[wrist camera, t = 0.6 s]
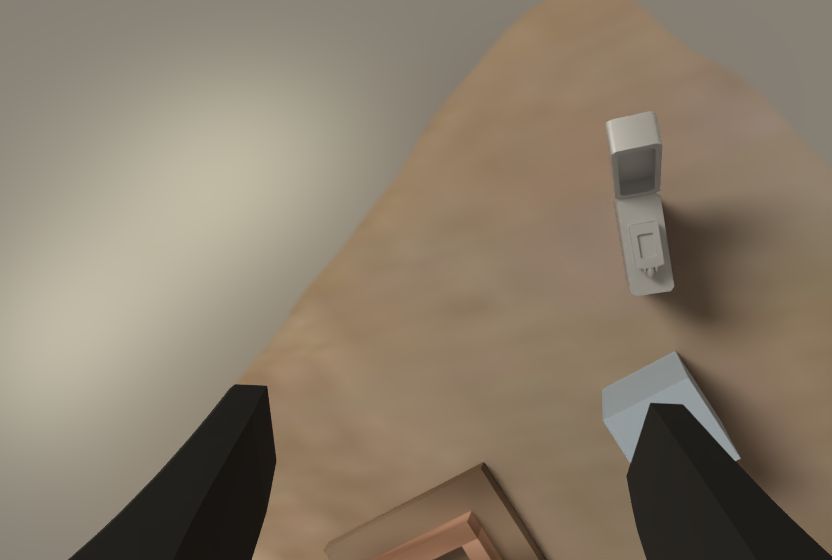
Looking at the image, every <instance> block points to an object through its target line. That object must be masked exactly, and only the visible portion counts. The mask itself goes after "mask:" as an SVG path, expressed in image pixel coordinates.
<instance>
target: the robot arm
mask: <svg viewBox="0 0 832 560" xmlns="http://www.w3.org/2000/svg"><path fill="white" fill-rule="evenodd" d="M275 465H276V454H275V445H274V437H273V429H272V421H271V413H270V405H269V397H268V389H267V386H259V385H237V384H235V385H234V386H232V387H231V388H230V389H229V390H228V391H227V393H226V394H225V395H224V397H223V398H222V399H221V400H220V402H219V403H218V404H217V405H216V407H215V408H214V409H213V410H212V412H211V413H210V414H209V415H208V417H207V418H206V419H205V420H204V421H203V423H202V424H201V425H200V426H199V427H198V429H197V430H196V431H195V432H194V433H193V434H192V436H191V437H190V438H189V439H188V441H186V443H185V444H184V445H183V446H182V447H181V448H180V449H179V451H178V452H177V453H176V454H175V455H174V456H173V457H172V458H171V459H170V461H169V462H168V463H167V464H166V465H165V466H164V467H163V468H162V470H161V471H160V472H159V473H158V474H157V475H156V476H155V477H154V478H153V479H152V480H151V481H150V482H149V483H148V484H147V485H146V487H144V488H143V489H142V491H141V492H140V493H139V494H138V495H137V496H136V497H135V498H134V499H133V500H132V501H131V502H130V503H129V504H128V505H127V506H126V507H125V508H124V509H123V510H122V511H121V512H120V513H119V514H118V515H117V516H116V517H115V518H114V519H113V520H111V521H110V522H109V523H108V524H107V525H106V526H105V527H104V528H103V529H102V530H101V531H100V532H99V533H98V534H97V535H95V536H94V537H93V538H92V539H91V540H90V541H89V542H88V543H86V544H85V545H84V546H83V547H82V548H81V549H80V550H79V551H77V552H76V553H75V554H74V555H73V556H72V557H71V558H69V559H68V560H252V557H253V554H254V550H255V547H256V544H257V541H258V538H259V534H260V531H261V528H262V525H263V522H264V518H265V515H266V512H267V507H268V502H269V497H270V492H271V487H272V481H273V476H274V471H275ZM627 481H628V487H629V492H630V497H631V503H632V508H633V513H634V517H635V522H636V527H637V530H638V534H639V537H640V540H641V543H642V546H643V549H644V552H645V555H646V559H647V560H832V556H831V555H830V554H829V553H828V552H826V551H825V550H824V549H823V548H822V547H821V546H820V545H819V544H818V543H817V542H816V541H815V540H814V539H812V538H811V537H810V536H809V535H808V534H807V533H806V532H805V531H804V530H803V529H802V528H801V527H800V526H799V525H798V524H796V523H795V522H794V521H793V520H792V519H791V518H790V517H789V516H788V515H787V514H786V513H785V512H784V511H783V510H782V509H781V508H780V507H779V506H778V505H777V504H776V503H775V502H774V501H773V500H772V499H771V498H770V497H769V496H768V495H767V494H766V493H765V492H764V491H763V490H762V489H761V488H760V487H759V486H758V485H757V484H756V483H755V481H754V480H753V479H752V478H751V477H750V476H749V475H748V474H747V473H746V472H745V471H744V470H743V469H742V468H741V467H740V466H739V465H738V464H737V462H736V461H735V460H734V459H733V458H732V457H731V456H730V455H729V454H728V453H727V452H726V451H725V449H724V448H723V447H722V446H721V445H720V444H719V443H718V442H717V441H716V440H715V439H714V437H713V436H712V435H711V434H710V433H709V432H708V431H707V430H706V429H705V428H704V426H703V425H702V424H701V423H700V422H699V421H698V420H697V419H696V418H695V417H694V416H693V414H692V413H691V412H690V411H689V410H688V409H687V408H686V407H685V406H684V405H683V404H668V403H650V405H649V408H648V411H647V414H646V417H645V420H644V424H643V427H642V430H641V433H640V436H639V439H638V442H637V445H636V448H635V452H634V455H633V458H632V461H631V464H630V467H629V470H628V473H627Z"/></svg>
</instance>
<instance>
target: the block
mask: <svg viewBox="0 0 832 560" xmlns="http://www.w3.org/2000/svg"><path fill="white" fill-rule="evenodd" d="M650 403H668V404H683V405H684V406H685V407H686V408H687V409H688V410H689V411H690V412H691V413H692V414H693V416H694V417H695V418H696V419H697V420H698V421H699V422H700V423H701V424H702V425H703V426H704V428H705V429H706V430H707V431H708V432H709V433H710V434H711V435H712V436H713V437H714V439H715V440H716V441H717V442H718V443H719V444H720V445H721V446H722V447H723V448H724V449H725V451H726V452H727V453H728V454H729V455H730V456H731V457H732V458H733V459H734V460H735V461H737V460H739V459H741V458H740V456H739V454H738V452H737V450H736V449H735V447H734V445H733V443H732V441H731V439H730V437H729V435H728V433H727V431H726V430H725V428H724V426H723V424H722V422H721V420H720V419H719V417H718V416H717V414H716V412H715V411H714V409H713V408H712V406H711V405H710V403H709V402H708V400H707V399H706V397H705V395H704V394H703V392H702V391H701V389H700V388H699V386H698V385H697V383H696V382H695V380H694V379H693V377H692V375H691V374H690V372H689V371H688V369H687V368H686V366H685V365H684V363H683V362H682V360H681V359H680V357H679V355H678V354H677V352H676V351H674V352H672V353H670V354H668V355H666V356H664V357H662V358H660V359H658V360H657V361H655V362H653V363H651V364H649V365H647V366H645V367H643V368H641V369H639V370H638V371H636V372H634V373H632V374H630V375H628V376H626V377H624V378H622V379H620V380H619V381H617V382H615V383H613V384H611V385H609V386H607V387H605V388H603V389H602V407H603V422H604V423H605V425H606V426H607V428H608V429H609V431H610V432H611V434H612V436H613V437H614V439H615V440H616V442H617V443H618V445H619V446H620V448H621V450H622V451H623V453H624V454H625V456H626V457H627V459H628V460H629V462H630V463H631V461H632V458H633V455H634V452H635V448H636V445H637V442H638V439H639V436H640V433H641V430H642V427H643V424H644V420H645V417H646V414H647V411H648V408H649V405H650Z"/></svg>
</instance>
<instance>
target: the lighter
mask: <svg viewBox="0 0 832 560" xmlns="http://www.w3.org/2000/svg"><path fill="white" fill-rule="evenodd" d="M606 131H607V141H608V150H609V159H610V169H611V175H612V181H613V187H614V192H615V200H614V201H613V202H614V208H615V214H616V220H617V227H618V233H619V239H620V245H621V251H622V257H623V264H624V270H625V276H626V280H627V283H628V286H629V289H630V292H631V293H632V294H633V295H635V296H640V295H647V294H654V293H661V292H669V291H671V290H672V289H673V288H674V281H673V274H672V268H671V261H670V255H669V248H668V242H667V235H666V229H665V222H664V216H663V210H662V203H661V197H660V195H658V194H657V193H656V192H658V191H660V179H661V159H662V141H661V136H660V132H659V127H658V122H657V117H656V113H655V112H652V111H649V112H644V113H640V114H635V115H631V116H626V117H622V118H617V119H613V120H610V121H608V122H607V123H606Z"/></svg>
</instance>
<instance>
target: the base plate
mask: <svg viewBox="0 0 832 560" xmlns="http://www.w3.org/2000/svg"><path fill="white" fill-rule="evenodd" d="M324 552H325V553H326V555H327V556H328V558H329V560H545V558H544V556H543V555H542V553H541V552H540V550H539V549H538V547H537V545H536V544H535V542H534V541H533V539H532V538H531V536H530V535H529V533H528V531H527V530H526V528H525V527H524V525H523V524H522V522H521V520H520V519H519V517H518V516H517V514H516V513H515V511H514V509H513V508H512V506H511V505H510V503H509V502H508V500H507V498H506V497H505V495H504V494H503V492H502V491H501V489H500V488H499V486H498V484H497V483H496V481H495V480H494V478H493V477H492V475H491V473H490V472H489V470H488V469H487V467H486V466H485V464H484V462H483V463H481V464H479V465H477V466H475V467H473V468H471V469H470V470H468V471H466V472H464V473H462V474H460V475H458V476H456V477H454V478H452V479H450V480H448V481H446V482H444V483H443V484H441V485H439V486H437V487H435V488H433V489H431V490H429V491H427V492H425V493H423V494H421V495H419V496H418V497H416V498H414V499H412V500H410V501H408V502H406V503H404V504H402V505H400V506H398V507H396V508H394V509H392V510H391V511H389V512H387V513H385V514H383V515H381V516H379V517H377V518H375V519H373V520H371V521H369V522H367V523H366V524H364V525H362V526H360V527H358V528H356V529H354V530H352V531H350V532H348V533H346V534H344V535H342V536H340V537H339V538H337V539H335V540H333V541H331V542H329V543H328V544H327V546H326V547H325V549H324Z"/></svg>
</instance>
